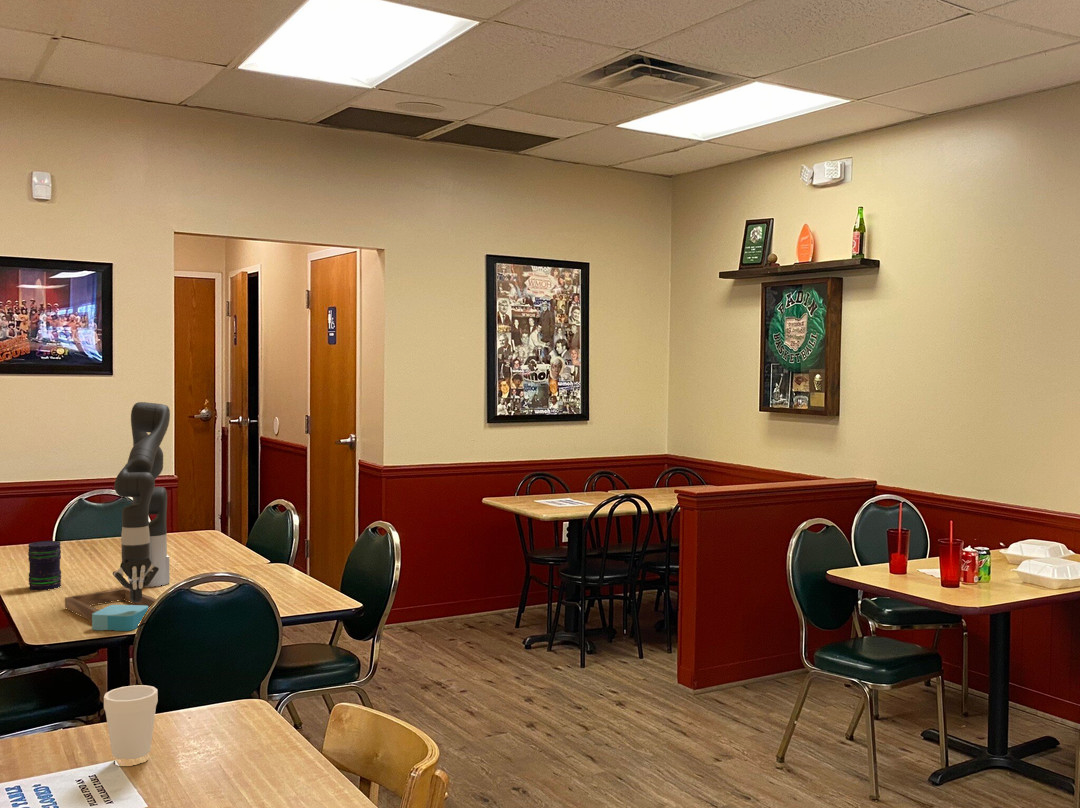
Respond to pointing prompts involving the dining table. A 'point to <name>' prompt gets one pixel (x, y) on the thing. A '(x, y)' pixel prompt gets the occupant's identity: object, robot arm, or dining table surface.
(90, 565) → the dining table surface
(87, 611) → the walnut frame
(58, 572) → the storage jar
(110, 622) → the data package
